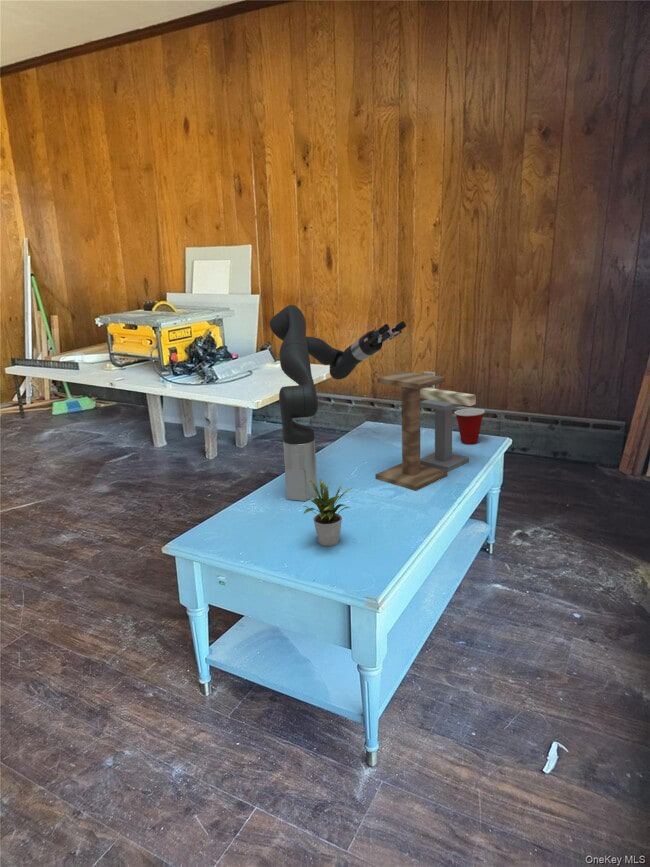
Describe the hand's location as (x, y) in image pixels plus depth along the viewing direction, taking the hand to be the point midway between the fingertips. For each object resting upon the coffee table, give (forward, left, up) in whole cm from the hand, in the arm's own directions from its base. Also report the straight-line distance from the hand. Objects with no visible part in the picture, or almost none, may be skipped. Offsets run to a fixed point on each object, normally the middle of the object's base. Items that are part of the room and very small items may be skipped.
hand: (396, 325), depth 200 cm
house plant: (-72, +1, -45) cm, 85 cm away
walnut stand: (-24, -10, -45) cm, 52 cm away
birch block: (-8, -16, -23) cm, 29 cm away
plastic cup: (+16, -22, -45) cm, 53 cm away
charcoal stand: (-8, -18, -45) cm, 49 cm away
